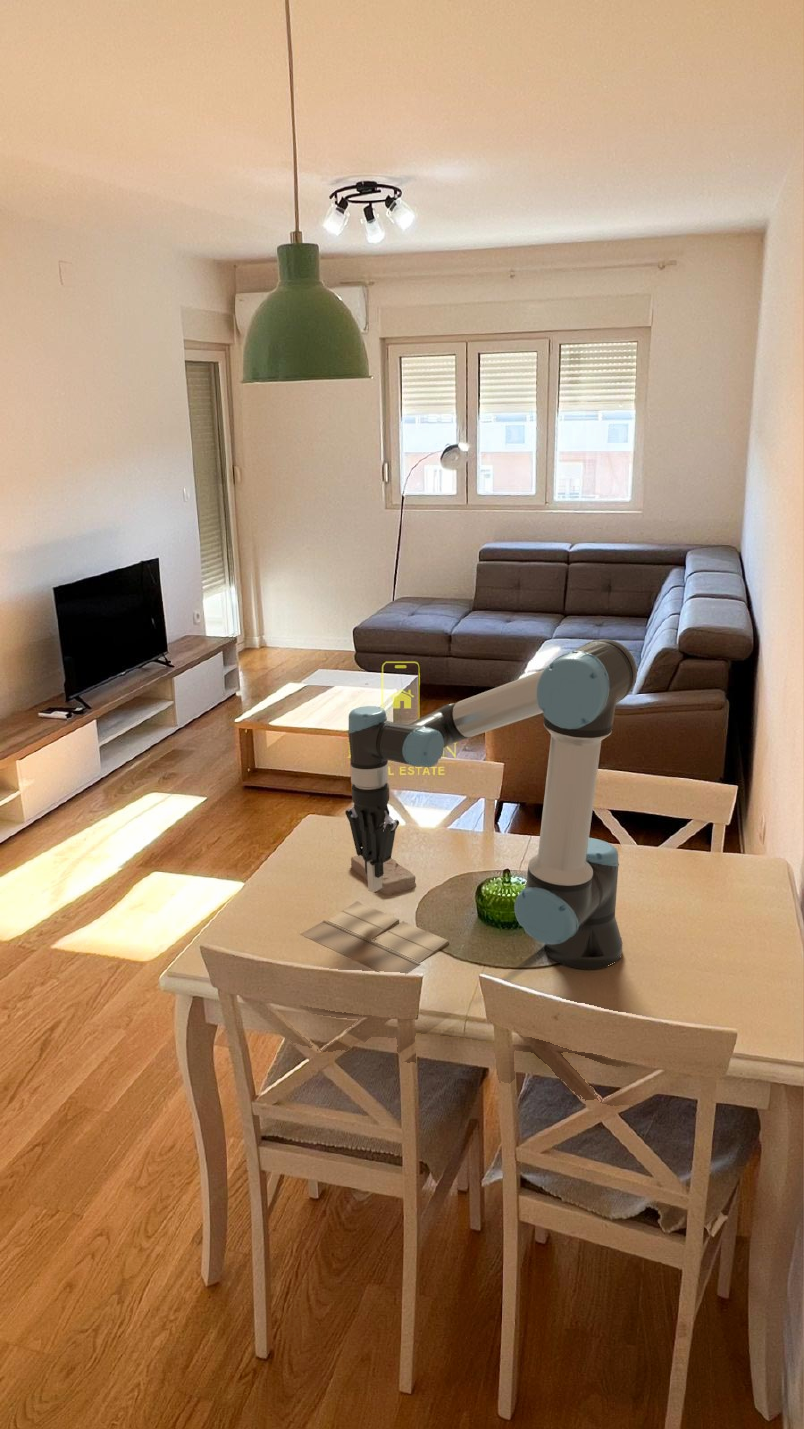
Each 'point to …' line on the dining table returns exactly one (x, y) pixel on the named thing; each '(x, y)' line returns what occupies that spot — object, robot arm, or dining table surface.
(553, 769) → the robot arm
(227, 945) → the dining table surface
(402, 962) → the floorboard
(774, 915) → the dining table surface
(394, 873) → the brick
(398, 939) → the plank
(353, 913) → the plank
